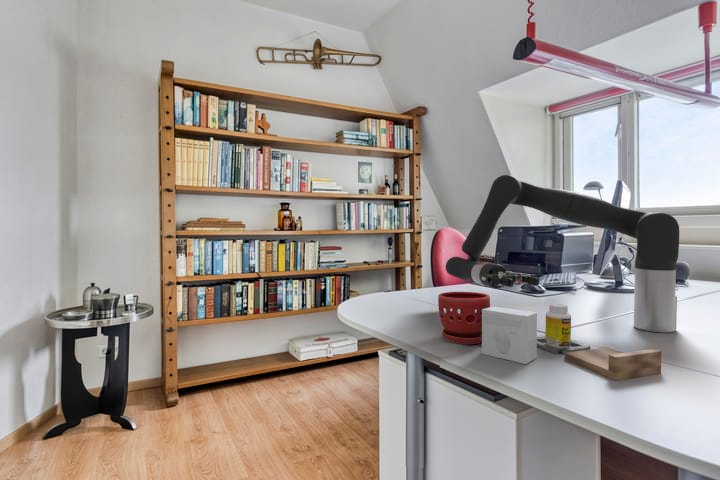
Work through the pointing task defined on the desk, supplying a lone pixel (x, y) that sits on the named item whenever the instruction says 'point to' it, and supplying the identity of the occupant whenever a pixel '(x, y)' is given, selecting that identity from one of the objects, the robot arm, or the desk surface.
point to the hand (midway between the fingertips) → (525, 282)
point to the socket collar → (563, 350)
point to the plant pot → (462, 316)
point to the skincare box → (509, 334)
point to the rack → (618, 362)
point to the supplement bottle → (558, 326)
